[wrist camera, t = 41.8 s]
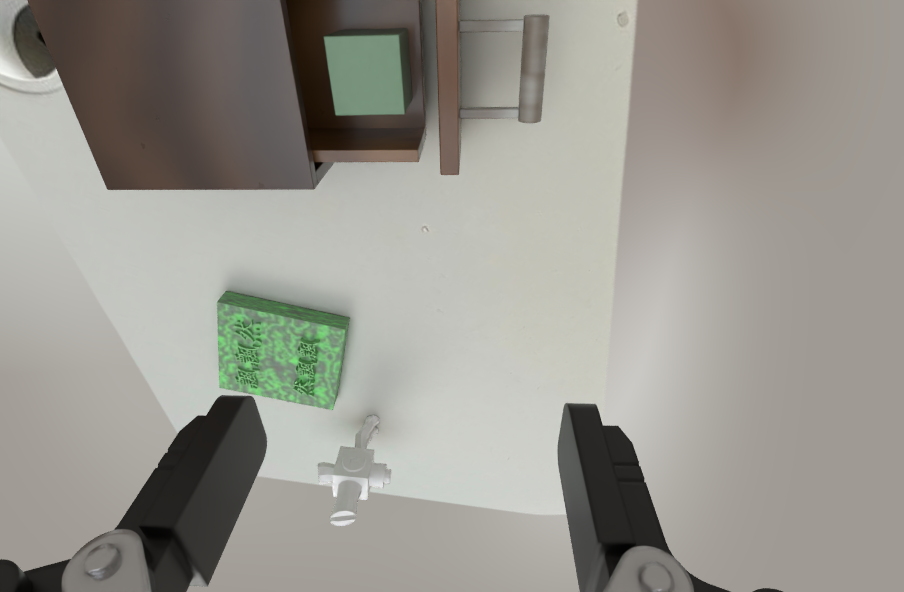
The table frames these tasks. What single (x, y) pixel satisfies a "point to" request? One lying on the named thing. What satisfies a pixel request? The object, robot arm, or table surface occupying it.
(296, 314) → the green jade tablet
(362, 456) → the toy robot
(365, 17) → the drawer
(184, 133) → the cabinet
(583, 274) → the table surface
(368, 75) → the block
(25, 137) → the table surface
